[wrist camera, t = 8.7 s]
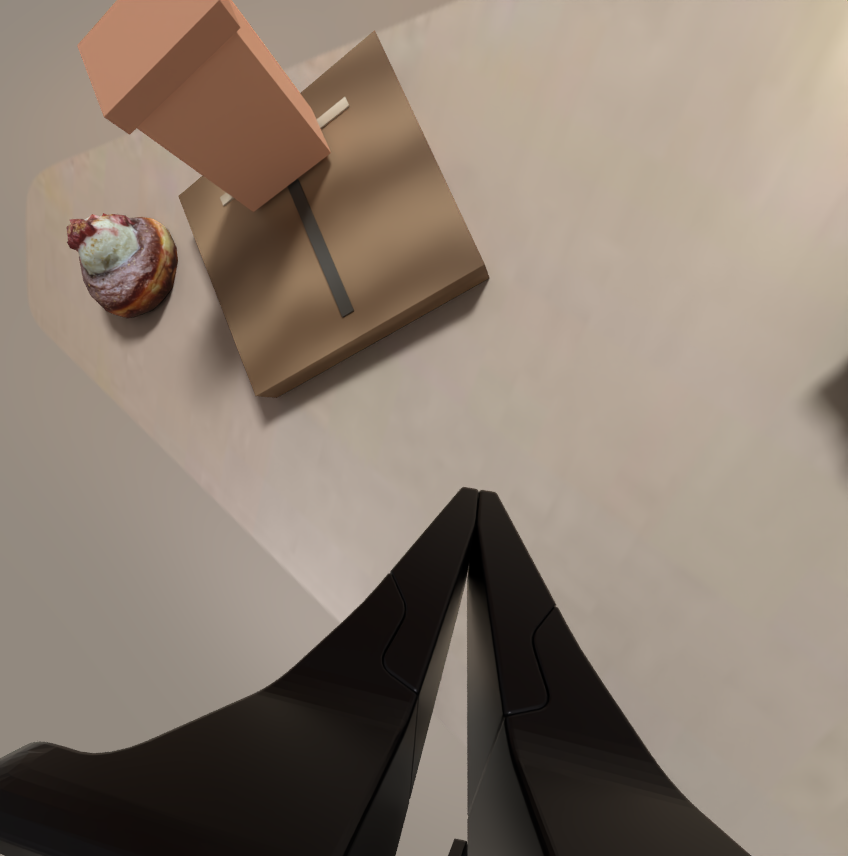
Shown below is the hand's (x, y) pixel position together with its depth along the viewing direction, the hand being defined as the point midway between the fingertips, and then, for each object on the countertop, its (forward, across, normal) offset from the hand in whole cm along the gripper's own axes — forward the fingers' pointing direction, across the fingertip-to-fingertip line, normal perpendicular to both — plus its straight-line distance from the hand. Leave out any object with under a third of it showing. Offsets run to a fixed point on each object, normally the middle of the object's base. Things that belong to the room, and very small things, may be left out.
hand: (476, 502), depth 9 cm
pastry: (+20, +28, 0) cm, 34 cm away
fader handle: (+18, +14, -8) cm, 24 cm away
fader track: (+18, +11, -4) cm, 22 cm away
